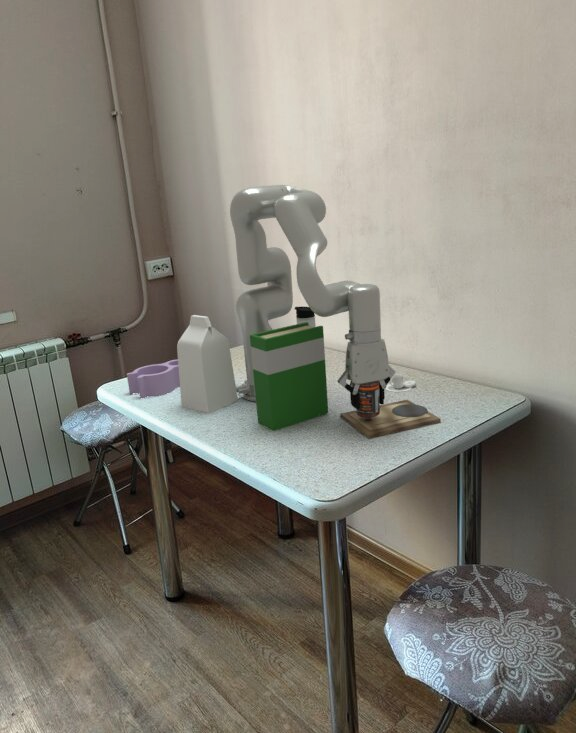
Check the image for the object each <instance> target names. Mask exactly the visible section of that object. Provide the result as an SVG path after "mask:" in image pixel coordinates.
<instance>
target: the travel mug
mask: <svg viewBox="0 0 576 733" xmlns="http://www.w3.org/2000/svg"><path fill="white" fill-rule="evenodd" d="M294 310H295V311H296V313H295V314H296V316H295V317H296V318H295V319H296V324H300V323H305V322H308V324H309V326H311V327H317V326H316V314H315V313H314V312H313V311H312V310H311V309H310V307H309V306H294Z"/></svg>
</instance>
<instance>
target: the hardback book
mask: <svg viewBox="0 0 576 733" xmlns="http://www.w3.org/2000/svg"><path fill="white" fill-rule="evenodd" d="M324 334H325V333H324V325H317V326H316V327H311V326H309V324H308V322H305V323H300V324H297V323H296V324H293V325H288V326H282V327H278V328H275V329H274V328H273V330H269V331H265V332H260V333H256V334H252V335H250V344H251V354H252V364H253V375H254V385H255V395H256V401H255V405H256V415H257V424H259V425H261V426H262V427H265V428H267V429H268V430H270V431H272V432H274V431H278V430H281V429H284V428H287V427H289V426H293V425H296V424H299V423H302V422H306V421H308V420H311V419H314V418H318V417H320V416H323V415H326V414H329V401H328V388H327V386H328V384H327V370H326V353H325V338H324V337H325V336H324Z"/></svg>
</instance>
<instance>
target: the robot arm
mask: <svg viewBox="0 0 576 733" xmlns="http://www.w3.org/2000/svg"><path fill="white" fill-rule="evenodd" d="M229 206H230V208H229V214H230V221H231V224H232V225H231V226H232V228H233V232H234V238H235V249H236V250H235V251H236V260H237V271H238V276H239V279H240V281H241V282H242V283H243V284H244V285H247V286H256V285H257V286H258V285H261V284H267V286H263V287H258V288H253V289H250V290H247V291H244V292H242V293H241V294H240V295H239V296H238V298H237V300H236V303H235V308H236V309H235V310H236V315H237V318H238V321H239V325H240V329H241V337H242V344H243V354H244V364H245V373H246V374H245V375H246V379H245V380H243V381H244V383H242V384H241V385H236V391H237V394H239V395H241V394H242V395H243V398H244V399H245V400H248V401H251V402H256V395H255V385H254V375H253V364H252V354H251V344H250V335H252V334H256V333H260V332H265V331H269V330H274V328H273V327H271V325H270V324H269V321H270V320H274V319H277V318H281V317H283V316H286V315H287V314H289V313H290V312H291V310H292V308H293V302H294V299H293V298H294V296H293V295H294V294H293V279H292V265H291V262H290V259H289V256H288V254H287V253H286V251H284V250H283V249H282V248H281V247H277V246H276V247H274V246H273V247H272V246H270V247H268V244H267V235H266V231H265V229H264V227H263V226H262V224H261V223H260V222H259V220H266V219H276V221H277V223H278V225H279V226H280V228H281V230H282V232H283V234H284V235H285V237H286V239H287V240H288V242H289V244H290V246H291V247H292V249H293V251H294V253H295V255H296V256H297V263H296V281H297V288H298V290H299V292H300V293H301V295H302V297H303V299H304V301H305V302H306V304H307V305H308V306H307V307H310V309H311V310H312V311H313V312H314V314H315V316H318V317H322V318H327V317H331V316H336V315H339V314H342V313H346V312H348V325H349V326H348V327H349V329H348V333H346V334H344V339H345V341H346V340H349V341H347V345H346V352H345V366H344V367H345V368H344V369H345V370H344V371H343V373H342V374H341V376H340V377H339V378H338V379H337V383H338V384H339V385H341V386H342V387H343V388H345V390H347V391H348V392H349V393H350V394H349V395H350V398H349V400H350V406H352V407H353V408H354V409H355V410H356V409H360V398H359V394H358V393H357V392H358V388H359V385H360V384H365V383H370V382H375V381H379V397H380V405H384V404H385V403H384V402H385V401H384V400H385V390H386V389H385V388H386V385H388V384H390V383H389V381H390V382H391V379H392V377H393V375H395V374H396V370H395V369H393V368H392V366H390V364H389V357H388V350H387V345H386V341H385V339H384V338H382V329H381V328H382V325H381V322H382V321H381V293H380V288H379V287H378V286H377V285H376V284H372V283H360V282H356V281H352V280H342V281H337V282H332V283H329V284H324V282H323V281H322V279H321V277H320V276H319V273H318V270H317V266H316V264H317V263H316V261H317V258H318V257H319V256H320V255H321V254H322V253H323V252H324V251H325V250H326V249H327V247H328V239H327V237H326V235H325V234H324V232H323V230H322V229H321V227H320V225H319V224H320V223H322V221H323V220H324V219H325V217H326V213H327V207H326V204H325V200H324V199H323V198H322V197H321V195H320V194H318V193H317V192H315V191H311V190H309V189H303V188H299V187H296V186H292V185H288V184H275V185H274V184H273V185H259V186H250V187H247V188H243V189H240V190H239V191H238V192H236V193H235V195H234V196H233V198H232V199H231V201H230V205H229ZM347 380H348V381H349V383H348V382H347Z"/></svg>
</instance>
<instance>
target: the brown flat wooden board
mask: <svg viewBox="0 0 576 733" xmlns="http://www.w3.org/2000/svg"><path fill="white" fill-rule="evenodd" d="M340 418H341V419H343V420H344V422H346V423H347V424H349V425H351V427H353V428H354V429H356V430H357V431H358V432H360V433H361V434H362V435H364V437H366V438H368V439H372V438H376V437H377V438H378V437H381V436H386V435H390V434H395V433H400V432H403V431H408V430H412V429H416V428H421V427H425V426H430V425H434V424H438V423H439V424H440V423H441V421H442V420H441V419H442V418H441V417H438V416H437V415H435V414H434V413H432V412H430V411H428V409H427V407H425V406H424V405H420V404H416V403H415V402H412V401H410V400H409V399H403V400H399V401H394V402H391V403H384V404H382V405H381V404H380V413H379V415H377V416H375V417H372V418H364V417H360V416H358V415H357V413H356V409H355V410H350V411H346V412H342V413H340Z"/></svg>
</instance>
